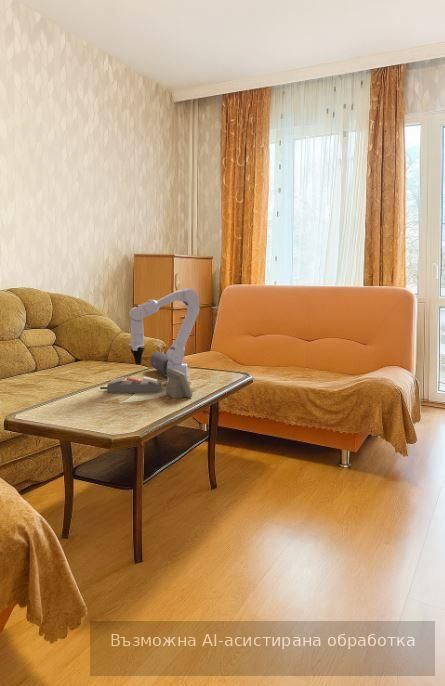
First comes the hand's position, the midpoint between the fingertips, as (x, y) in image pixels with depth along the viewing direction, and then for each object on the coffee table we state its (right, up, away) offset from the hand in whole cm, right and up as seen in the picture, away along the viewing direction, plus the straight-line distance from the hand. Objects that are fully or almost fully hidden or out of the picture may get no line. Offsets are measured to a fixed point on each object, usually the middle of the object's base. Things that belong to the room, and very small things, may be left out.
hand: (138, 364), depth 235 cm
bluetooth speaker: (+8, -6, +27) cm, 29 cm away
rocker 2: (0, -7, -11) cm, 13 cm away
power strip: (-2, -11, -8) cm, 14 cm away
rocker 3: (+7, -7, -11) cm, 14 cm away
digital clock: (+20, -13, -17) cm, 29 cm away
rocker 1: (-7, -7, -11) cm, 14 cm away
